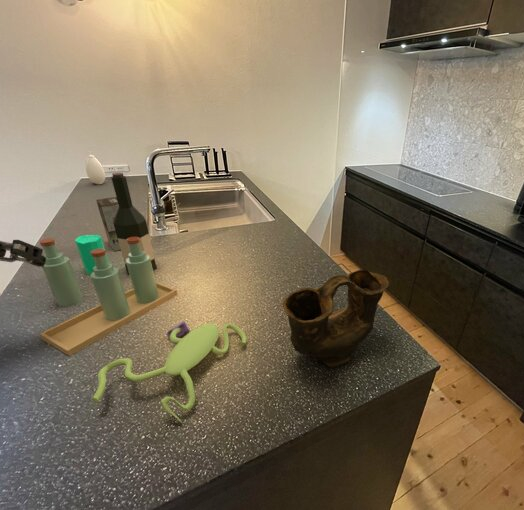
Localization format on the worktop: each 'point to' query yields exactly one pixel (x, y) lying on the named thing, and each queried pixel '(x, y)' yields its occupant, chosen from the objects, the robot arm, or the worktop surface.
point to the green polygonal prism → (89, 250)
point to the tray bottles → (111, 284)
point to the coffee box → (109, 219)
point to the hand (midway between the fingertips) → (19, 262)
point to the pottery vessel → (334, 316)
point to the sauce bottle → (95, 170)
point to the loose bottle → (60, 275)
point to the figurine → (178, 359)
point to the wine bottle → (129, 221)
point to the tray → (99, 323)
